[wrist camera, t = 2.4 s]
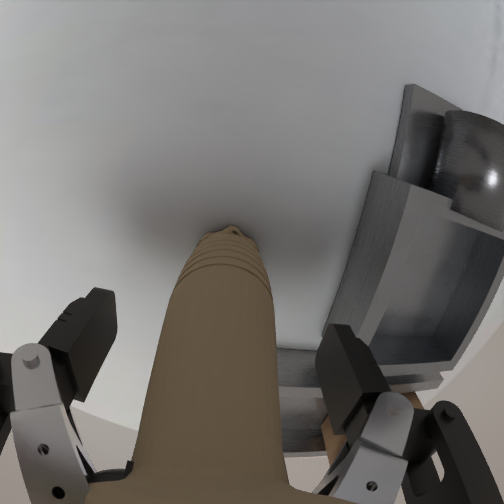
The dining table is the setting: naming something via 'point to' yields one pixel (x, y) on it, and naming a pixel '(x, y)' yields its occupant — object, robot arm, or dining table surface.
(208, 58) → the dining table surface
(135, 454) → the handle
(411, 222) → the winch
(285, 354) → the bay
